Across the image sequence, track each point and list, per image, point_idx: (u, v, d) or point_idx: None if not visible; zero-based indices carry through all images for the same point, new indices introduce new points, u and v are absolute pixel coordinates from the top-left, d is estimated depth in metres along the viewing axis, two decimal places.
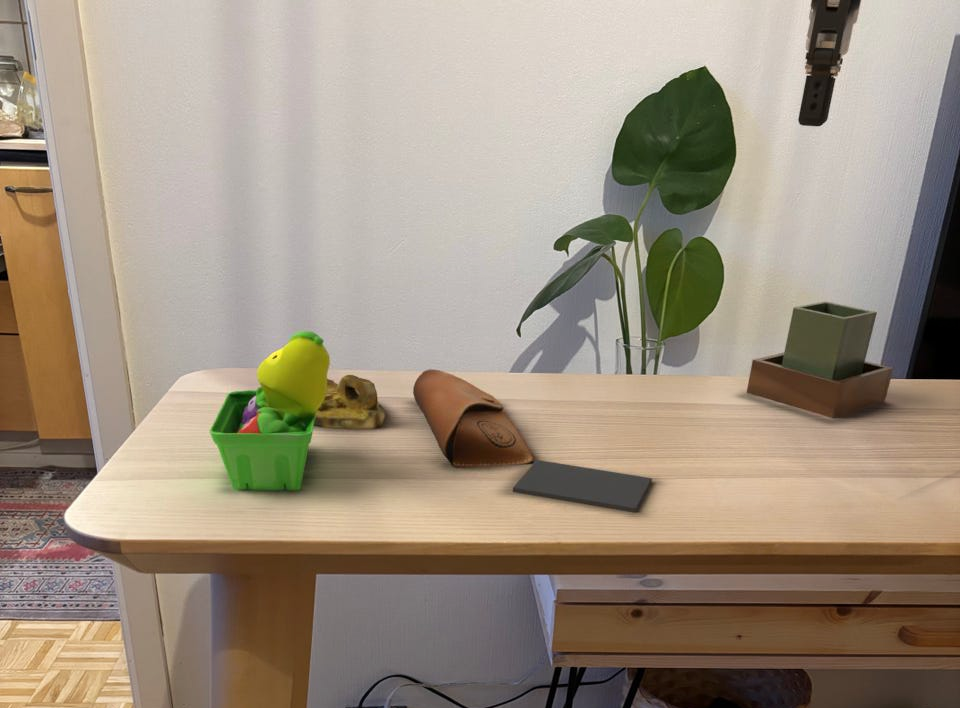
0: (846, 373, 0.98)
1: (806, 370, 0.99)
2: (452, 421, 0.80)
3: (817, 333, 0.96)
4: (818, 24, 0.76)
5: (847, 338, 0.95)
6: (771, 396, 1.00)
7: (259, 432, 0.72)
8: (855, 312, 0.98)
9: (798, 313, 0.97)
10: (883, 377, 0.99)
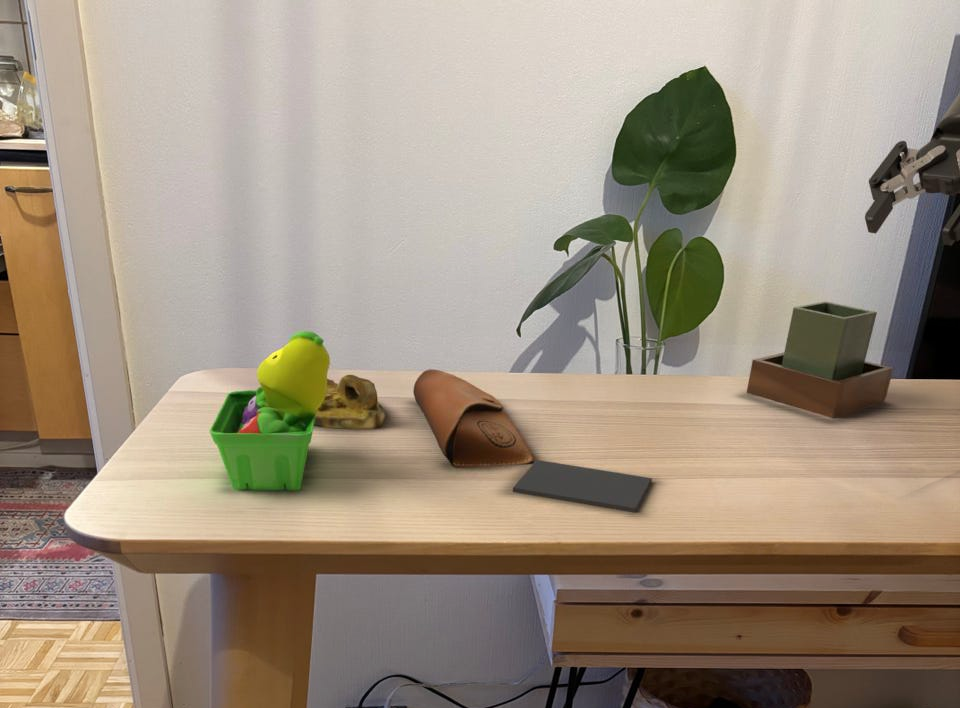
0: (846, 373, 0.98)
1: (806, 370, 0.99)
2: (452, 421, 0.80)
3: (817, 333, 0.96)
4: (884, 177, 1.06)
5: (847, 338, 0.95)
6: (771, 396, 1.00)
7: (259, 432, 0.72)
8: (855, 312, 0.98)
9: (798, 313, 0.97)
10: (883, 377, 0.99)
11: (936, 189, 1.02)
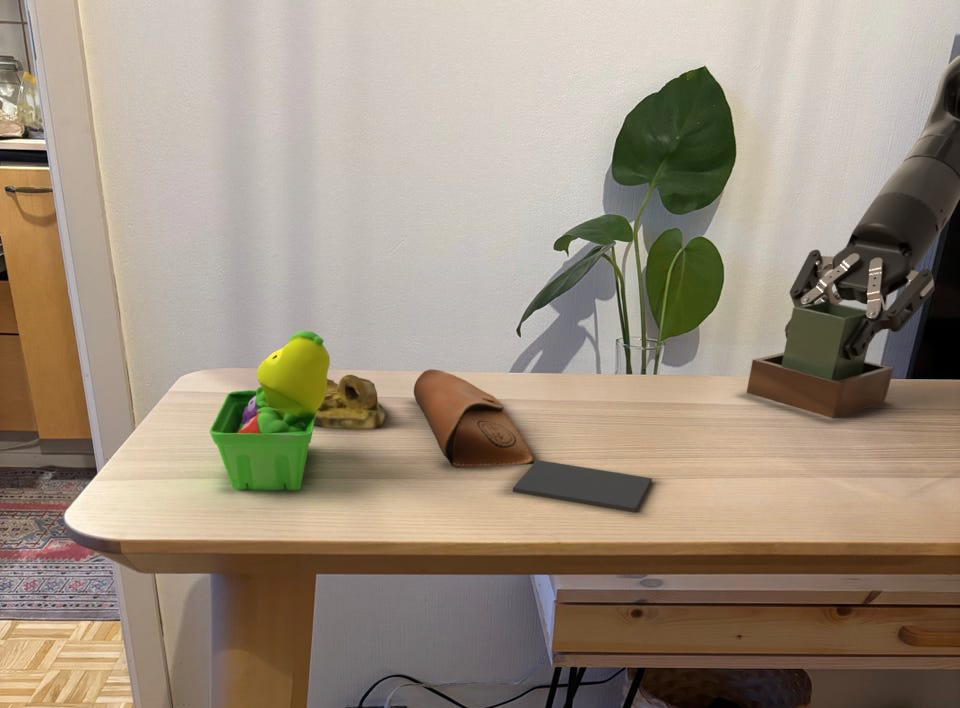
0: (846, 373, 0.98)
1: (806, 370, 0.99)
2: (452, 421, 0.80)
3: (817, 333, 0.96)
4: None
5: (847, 338, 0.95)
6: (771, 396, 1.00)
7: (259, 432, 0.72)
8: (855, 312, 0.98)
9: (798, 313, 0.97)
10: (883, 377, 0.99)
11: (852, 297, 0.99)
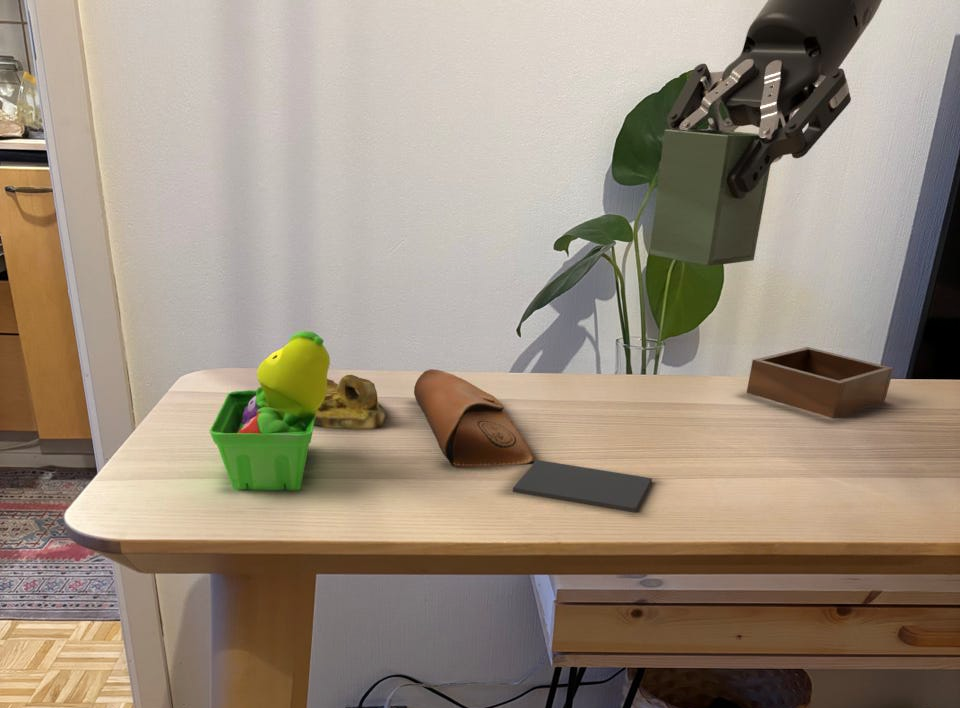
0: (736, 219, 0.74)
1: (683, 216, 0.74)
2: (452, 421, 0.80)
3: (694, 162, 0.72)
4: None
5: (733, 166, 0.71)
6: (771, 396, 1.00)
7: (259, 432, 0.72)
8: None
9: (670, 137, 0.73)
10: (883, 377, 0.99)
11: (745, 120, 0.75)
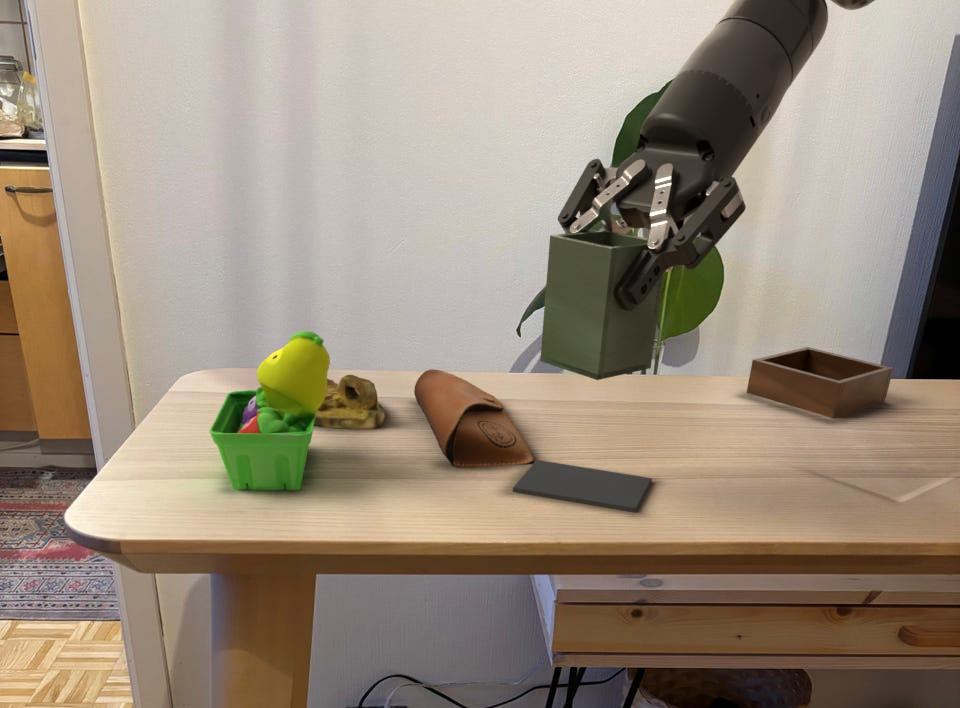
0: (627, 330, 0.69)
1: (571, 326, 0.69)
2: (453, 421, 0.80)
3: (580, 271, 0.67)
4: None
5: (619, 278, 0.66)
6: (771, 396, 1.00)
7: (259, 432, 0.72)
8: (641, 243, 0.69)
9: (556, 243, 0.68)
10: (883, 377, 0.99)
11: (639, 223, 0.70)
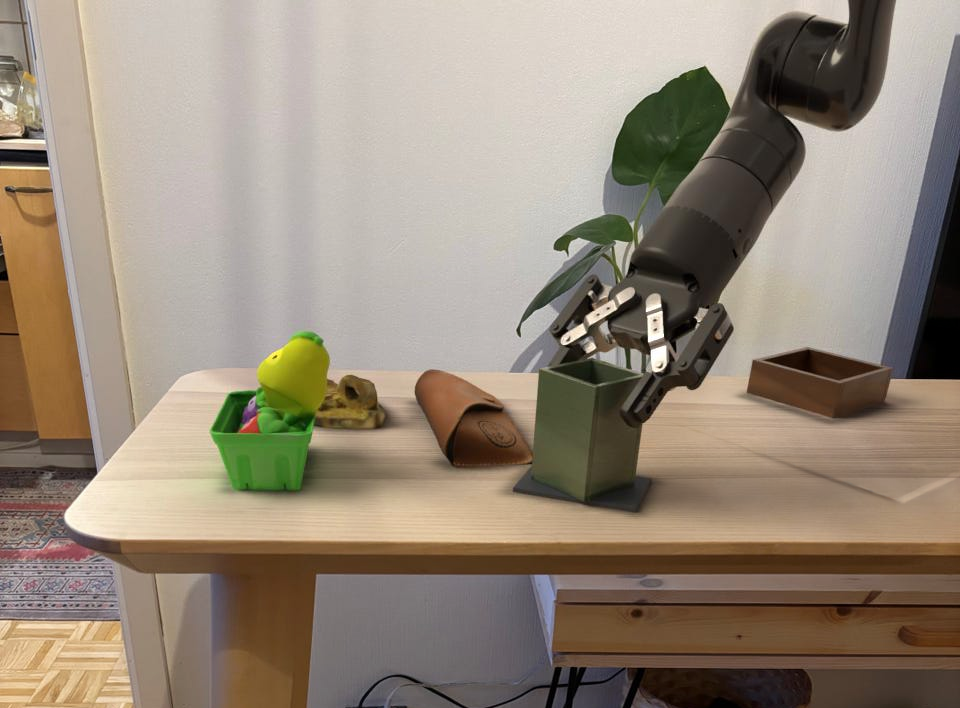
0: (611, 455, 0.74)
1: (559, 451, 0.74)
2: (453, 421, 0.80)
3: (567, 404, 0.72)
4: None
5: (603, 412, 0.71)
6: (771, 396, 1.00)
7: (259, 432, 0.72)
8: (624, 374, 0.74)
9: (544, 376, 0.73)
10: (883, 377, 0.99)
11: (629, 345, 0.75)
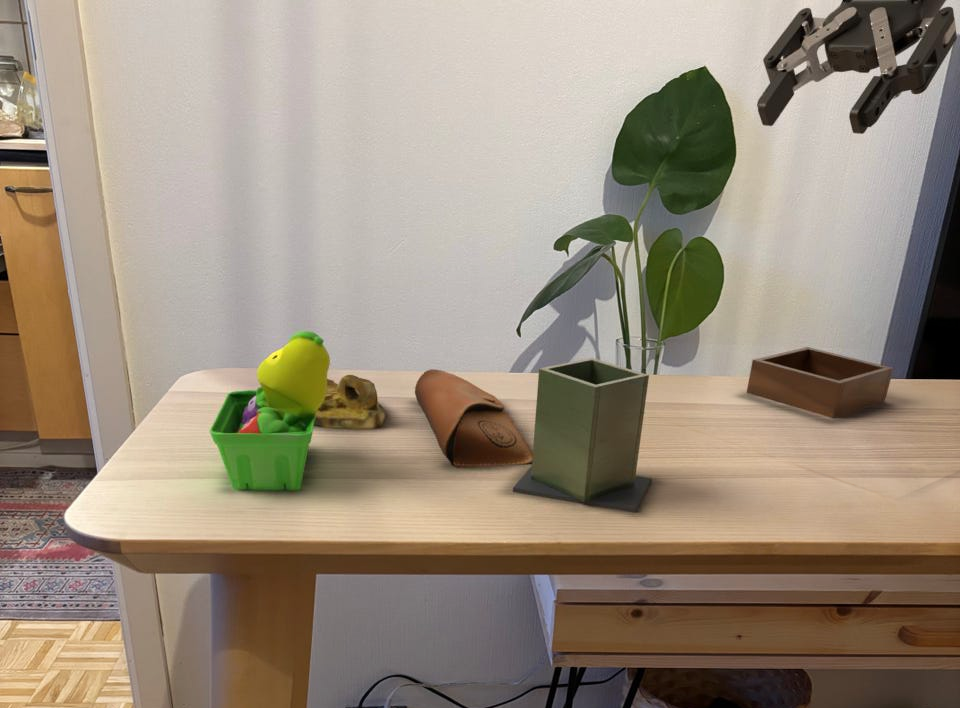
0: (611, 455, 0.74)
1: (559, 451, 0.74)
2: (453, 421, 0.80)
3: (567, 404, 0.72)
4: (785, 57, 0.83)
5: (603, 412, 0.71)
6: (771, 396, 1.00)
7: (259, 432, 0.72)
8: (624, 374, 0.74)
9: (544, 376, 0.73)
10: (883, 377, 0.99)
11: (847, 66, 0.79)
